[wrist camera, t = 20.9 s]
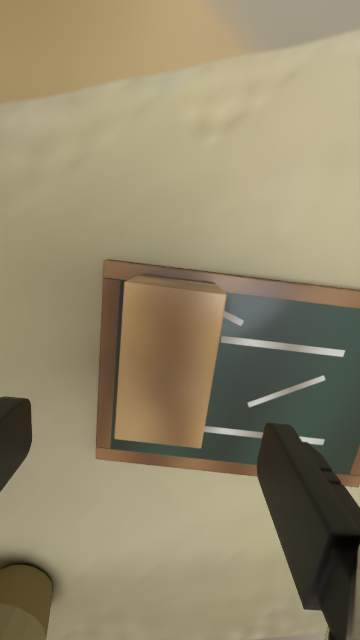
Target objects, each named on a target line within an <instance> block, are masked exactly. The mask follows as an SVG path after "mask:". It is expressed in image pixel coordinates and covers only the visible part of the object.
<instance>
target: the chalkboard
mask: <svg viewBox="0 0 360 640" xmlns="http://www.w3.org/2000/svg"><path fill="white" fill-rule="evenodd" d="M139 274H150V275H159V276H167V277H175V278H183V279H191V280H200V281H208V282H214V283H216V284H217V285H218V286H219V287H220V288H221V289H222V290H223V291H224V292H225V293H226V294H227V298H226V304H225V310H224V316H223V322H222V328H221V333H220V339H219V345H218V351H217V357H216V363H215V369H214V375H213V381H212V387H211V393H210V399H209V405H208V411H207V417H206V423H205V429H204V435H203V441H202V446H201V448H191V447H182V446H173V445H164V444H155V443H146V442H137V441H128V440H119V439H115V438H114V436H115V421H116V405H117V389H118V374H119V358H120V342H121V327H122V311H123V295H124V282H125V281H127V280H129V279H131V278H133V277H135V276H137V275H139ZM267 423H278V424H289V425H291V426H292V427H293V428H294V430H295V431H296V433H297V434H298V436H299V437H300V439H301V440H302V442H308V443H309V444H310V445H311V446H312V447H314V448H315V449H316V450H317V451H318V452H319V453H321V454H322V455H323V457H324V458H325V460H326V461H327V462H328V464H329V465H330V467H331V468H332V471H333V472H335V474H336V475H337V477H338V478H339V479H340V481H341V484H342V485H344V486H350V487H359V485H360V290H354V289H345V288H337V287H329V286H321V285H313V284H305V283H296V282H288V281H280V280H272V279H264V278H256V277H247V276H239V275H231V274H223V273H215V272H207V271H198V270H190V269H182V268H174V267H166V266H158V265H149V264H141V263H133V262H125V261H117V260H104V274H103V295H102V318H101V342H100V365H99V389H98V412H97V436H96V459H100V460H110V461H119V462H128V463H137V464H147V465H156V466H165V467H174V468H184V469H193V470H202V471H211V472H220V473H230V474H239V475H248V476H257V477H258V475H257V458H258V454H259V449H260V445H261V440H262V436H263V432H264V427H265V425H266V424H267Z"/></svg>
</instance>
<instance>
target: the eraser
mask: <svg viewBox="0 0 360 640" xmlns="http://www.w3.org/2000/svg"><path fill="white" fill-rule="evenodd" d="M226 298H227V294H226V293H225V292H224V291H223V290H222V289H221V288H220V287H219V286H218V285H217V284H216V283H214V282H208V281H200V280H191V279H183V278H175V277H167V276H159V275H150V274H139V275H137V276H135V277H133V278H131V279H129V280H127V281H125V282H124V295H123V311H122V327H121V342H120V358H119V374H118V389H117V405H116V421H115V436H114V438H115V439H119V440H128V441H137V442H146V443H155V444H164V445H173V446H182V447H191V448H201V446H202V441H203V435H204V429H205V423H206V417H207V411H208V405H209V399H210V393H211V387H212V381H213V375H214V369H215V363H216V357H217V351H218V345H219V339H220V333H221V328H222V322H223V316H224V310H225V304H226Z"/></svg>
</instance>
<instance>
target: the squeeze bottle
mask: <svg viewBox="0 0 360 640" xmlns="http://www.w3.org/2000/svg"><path fill="white" fill-rule="evenodd" d="M52 592H53V587H52V583H51V580H50V579H49V578H48V577H47V575H46V574H45V573H43V572H42V571H40V570H38V569H37V568H35V567H31V566H27V565H11V566H8V567H5V568H3V569H2V570H1V571H0V640H46V637H47V629H48V622H49V614H50V607H51V599H52Z"/></svg>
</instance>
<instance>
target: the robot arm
mask: <svg viewBox="0 0 360 640" xmlns="http://www.w3.org/2000/svg"><path fill="white" fill-rule="evenodd" d="M31 442H32V424H31V403H30V401H29V399H25V398H15V397H1V398H0V492H1V490H2V489H3V488H4V486H5V485H6V484H7V482H8V481H9V480H10V478H11V477H12V476H13V474H14V473H15V472H16V470H17V469H18V468H19V466H20V465H21V464H22V462H23V461H24V459H25V458H26V456H27V454H28V452H29V450H30V447H31ZM257 475H258V480H259V483H260V486H261V489H262V491H263V494H264V497H265V500H266V503H267V506H268V508H269V511H270V514H271V517H272V520H273V523H274V525H275V528H276V531H277V534H278V537H279V540H280V543H281V545H282V548H283V551H284V554H285V557H286V560H287V562H288V565H289V568H290V571H291V574H292V577H293V579H294V582H295V585H296V588H297V591H298V594H299V596H300V599H301V602H302V605H303V608H304V609H308V610H322V612H323V614H324V617H325V619H326V622H327V624H328V627H327V630H326V634H325V640H360V507H359V506H358V505H357V503H356V502H355V500H354V499H353V498H352V496H351V495H350V493H349V492H348V491H347V489H346V488H345V486H344V485H342V484H341V481H340V479H339V478H338V477H337V475H336V474H335V472H333V471H332V468H331V467H330V465H329V464H328V462H327V461H326V460H325V458H324V457H323V455H322V454H321V453H319V452H318V451H317V450H316V449H315V448H314V447H312V446H311V445H310V444H309V443H308V442H302V440H301V439H300V437H299V436H298V434H297V433H296V431H295V430H294V428H293V427H292V426H291V425H289V424H278V423H267V424H266V425H265V427H264V432H263V436H262V440H261V445H260V449H259V454H258V458H257Z"/></svg>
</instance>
